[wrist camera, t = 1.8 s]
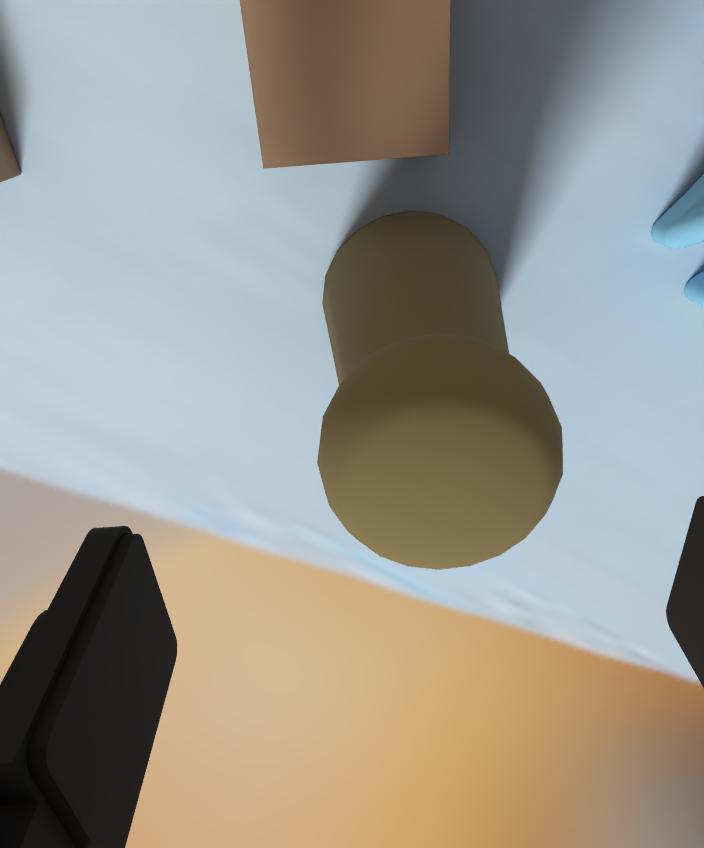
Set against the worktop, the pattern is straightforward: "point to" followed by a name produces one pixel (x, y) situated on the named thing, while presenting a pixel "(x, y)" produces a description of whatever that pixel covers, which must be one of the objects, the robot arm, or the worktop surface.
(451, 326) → the cork
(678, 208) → the chair
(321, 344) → the worktop surface
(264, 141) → the notched board
